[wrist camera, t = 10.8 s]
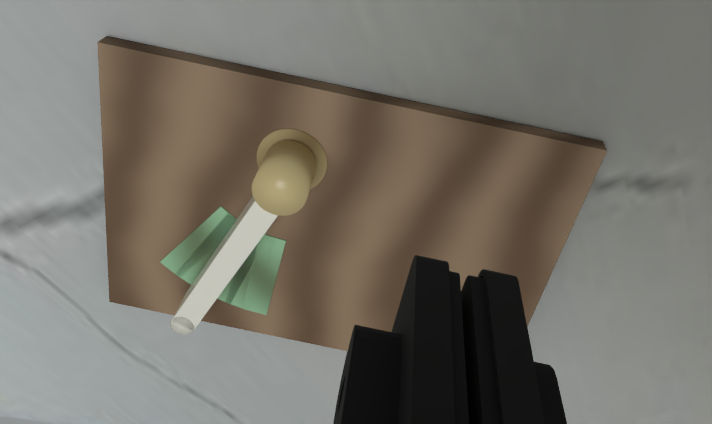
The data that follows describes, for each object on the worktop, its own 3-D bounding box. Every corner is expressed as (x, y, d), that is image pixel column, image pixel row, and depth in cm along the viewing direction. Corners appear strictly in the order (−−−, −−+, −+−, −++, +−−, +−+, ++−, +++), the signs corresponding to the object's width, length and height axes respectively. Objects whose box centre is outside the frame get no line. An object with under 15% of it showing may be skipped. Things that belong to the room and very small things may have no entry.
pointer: (281, 130, 37) (268, 156, 34) (326, 159, 38) (317, 187, 35) (172, 293, 45) (154, 325, 42) (211, 314, 46) (196, 347, 43)
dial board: (602, 141, 37) (607, 151, 36) (500, 371, 48) (501, 384, 47) (106, 36, 37) (97, 42, 36) (116, 291, 48) (109, 302, 47)
